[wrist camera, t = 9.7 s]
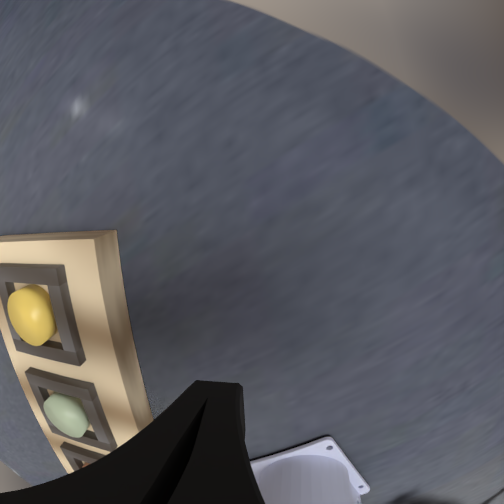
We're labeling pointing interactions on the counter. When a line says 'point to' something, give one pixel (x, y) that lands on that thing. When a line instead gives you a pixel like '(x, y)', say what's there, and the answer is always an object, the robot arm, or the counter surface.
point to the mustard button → (32, 314)
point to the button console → (77, 338)
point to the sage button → (67, 414)
